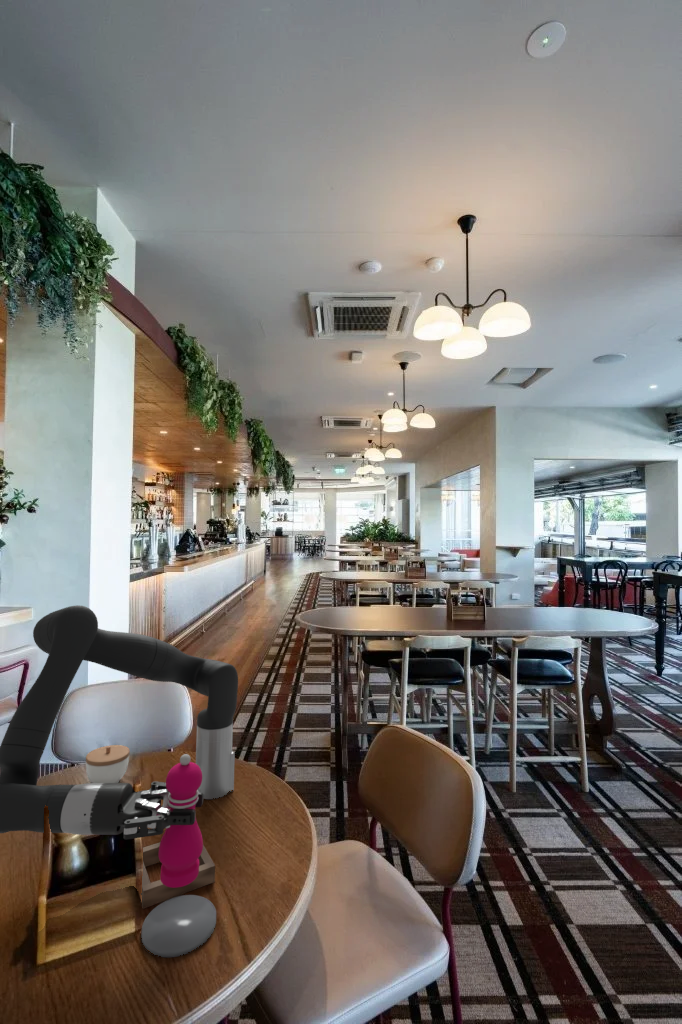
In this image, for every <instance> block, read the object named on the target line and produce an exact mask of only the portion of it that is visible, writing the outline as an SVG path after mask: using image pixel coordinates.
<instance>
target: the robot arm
mask: <svg viewBox="0 0 682 1024" xmlns="http://www.w3.org/2000/svg"><path fill="white" fill-rule="evenodd" d="M32 633H33V634H32V637H33V640H34V643H35V645H36V646H37V647H38V648H39V649H40V650H41V651H42V652H43V653H46V654H48V655H47V658H46V661H45V663H44V666H43V667H42V669H41V671H40V673H39V675H38V677H37V679H36V680H35V682H34V683H33V684H32V686H31V687H30V689H29V691H28V692H27V694H26V695H25V696H24V698H23V699H22V701H21V702H20V704H19V705H18V707H17V708H16V710H15V712H14V714H13V716H12V717H11V720H10V722H9V724H8V726H7V729H6V731H5V734H4V736H3V738H2V741H1V744H0V834H5V833H10V832H21V831H22V832H23V831H27V832H34V833H43V834H45V833H44V807H45V805H46V806H48V810H49V817H48V818H49V824H50V829H51V832H52V833H51V834H64V833H65V834H72V835H79V836H81V835H85V836H86V835H89V836H90V835H93V836H94V835H95V836H96V835H98V836H99V835H101V836H103V835H121V834H122V833H123V839H124V840H133V839H134V840H135V839H139V838H140V839H142V838H146V837H152V836H153V837H154V836H161V835H163V834H164V832H165V831H164V830H166V828H169V827H170V826H171V825H193V824H194V822H195V816H196V809H195V810H194V809H173V811H172V810H171V809H170V806H169V805H168V800H169V799H168V795H169V793H170V792H169V791H168V790H167V788H166V782H163V781H152V782H151V785H150V788H149V789H148V790H147V789H145V790H140V791H135V790H134V787H133V785H132V784H131V783H130V782H118V783H91V782H87V783H82V784H52V785H50V784H49V785H38V779H39V773H40V763H41V759H42V757H43V755H44V754H43V753H44V751H45V748H46V746H47V743H48V741H49V738H50V736H51V735H50V734H51V732H52V729H53V726H54V724H55V721H56V719H57V716H58V714H59V711H60V709H61V706H62V703H63V702H64V699H65V697H66V695H67V693H68V691H69V688H70V686H71V684H72V683H73V681H74V679H75V677H76V674H77V673H78V670H79V669H80V666H81V665H82V662H83V661H86V662H90V663H93V664H94V663H95V664H97V665H101V666H103V667H106V668H109V669H112V670H114V671H118V672H121V673H125V674H128V675H131V676H134V677H138V678H142V679H145V680H148V681H153V682H162V683H175V684H179V685H181V686H184V687H186V688H188V689H190V690H193V691H195V692H197V693H198V694H201V695H202V696H206V697H208V699H207V706H206V707H207V708H203V710H200V711H199V712H198V714H197V717H196V743H195V744H196V745H195V746H196V747H195V764H197V765H198V766H199V767H200V769H201V771H202V783H201V785H200V787H199V788H198V789H197V790H198V792H199V794H198V801H197V803H196V805H195V808H201V807H202V806H203V804H204V799H205V800H215V798H216V799H218V798H219V797H220V798H223V797H225V796H226V795H228V794H229V793H230V792H232V791H231V790H233V791H234V790H235V762H236V761H235V756H236V755H235V754H236V753H235V752H234V751H233V733H234V732H233V728H234V716H235V713H236V710H237V703H238V691H239V690H238V689H239V676H238V675H239V674H238V670H237V669H236V667H235V666H234V665H232V664H230V663H228V662H224V661H220V660H217V659H211V658H210V659H209V658H205V657H204V658H202V657H197V656H194V655H190V654H187V653H184V652H183V651H182V650H180V649H179V648H177V647H176V646H174V645H173V644H170V643H168V642H167V641H164V640H161V639H158V638H156V637H153V636H149V635H145V634H141V633H132V632H122V631H112V630H105V629H101V628H99V622H98V618H97V616H96V613H95V612H94V611H93V610H92V609H91V608H89V607H87V606H85V605H76V604H75V605H71V606H67V607H64V608H61V609H57V610H55V611H51V612H50V613H48V614H46V615H44V616H43V617H41V618H40V619H39V620H38V621H37V622H36V623H35V625H34V628H33V631H32ZM229 791H230V792H229ZM228 792H229V793H228ZM227 793H228V794H227ZM224 795H225V796H224ZM213 798H214V799H213ZM220 798H219V799H220ZM162 800H163V801H162ZM196 817H197V816H196Z"/></svg>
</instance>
